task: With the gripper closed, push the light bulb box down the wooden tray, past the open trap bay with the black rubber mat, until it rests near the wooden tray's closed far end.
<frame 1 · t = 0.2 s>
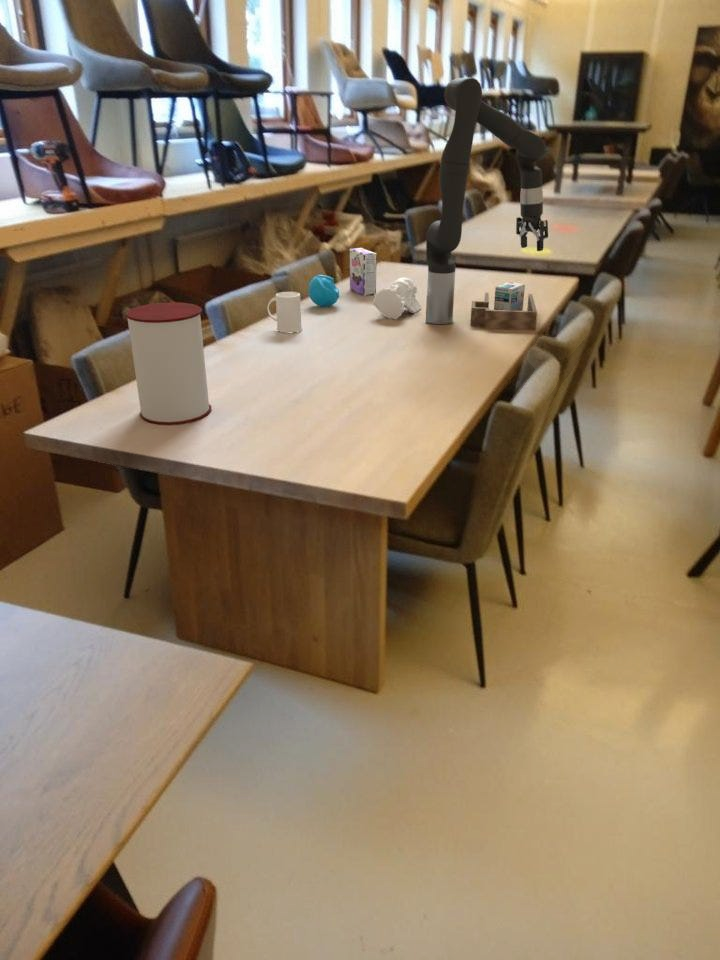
hand: (532, 249, 263), 22 cm above the table, tool pointing down, fingers open, 8 cm apart
sphere: (324, 307, 281), on the table
container: (176, 412, 184), on the table
cherub figurine: (396, 313, 272), on the table
mug: (285, 330, 252), on the table
wooden tray: (508, 320, 262), on the table
candy box: (362, 292, 303), on the table
light bulb box: (507, 315, 269), on the table
trap mat: (479, 321, 260), on the table
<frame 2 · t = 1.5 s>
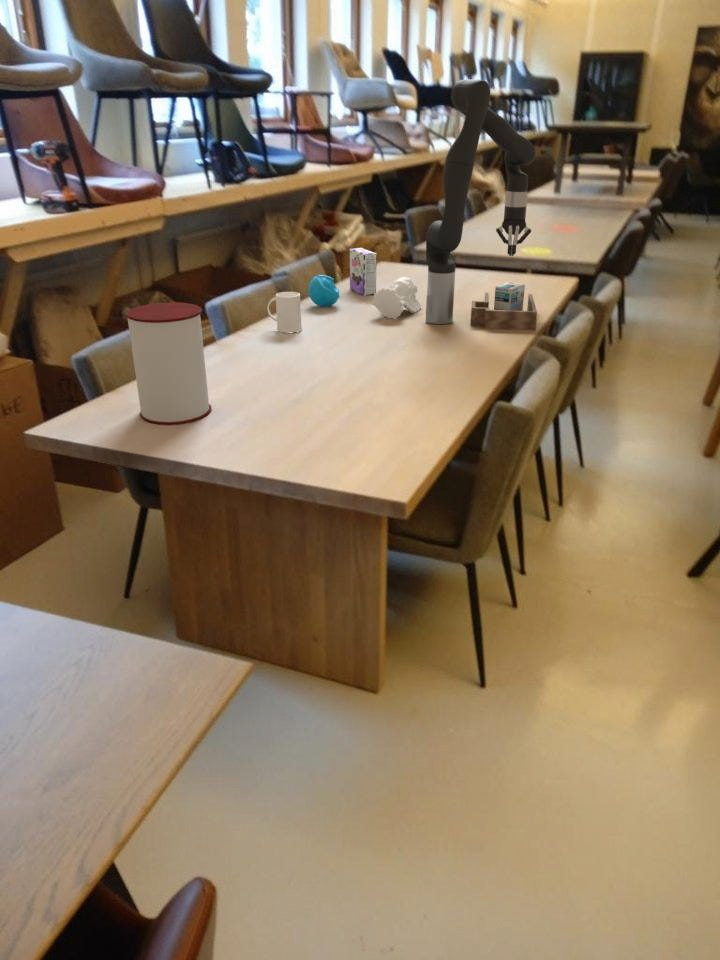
hand: (511, 255, 270), 19 cm above the table, tool pointing down, fingers closed
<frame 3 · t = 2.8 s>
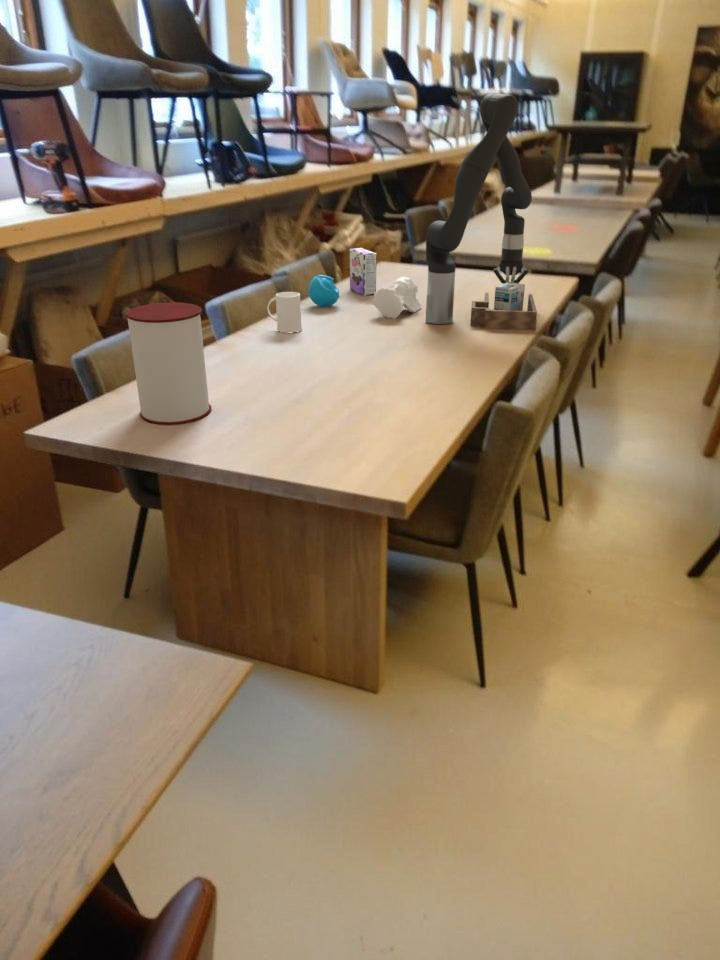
hand: (508, 294, 276), 5 cm above the table, tool pointing down, fingers closed
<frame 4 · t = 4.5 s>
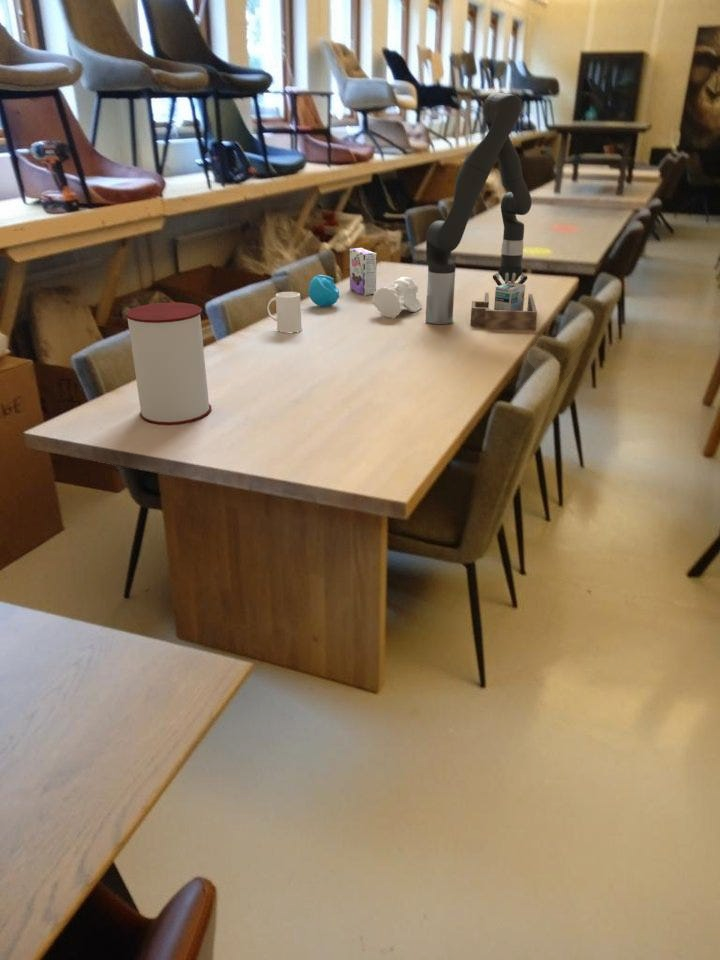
hand: (507, 301, 273), 3 cm above the table, tool pointing down, fingers closed
light bulb box: (508, 316, 268), on the table, touching gripper
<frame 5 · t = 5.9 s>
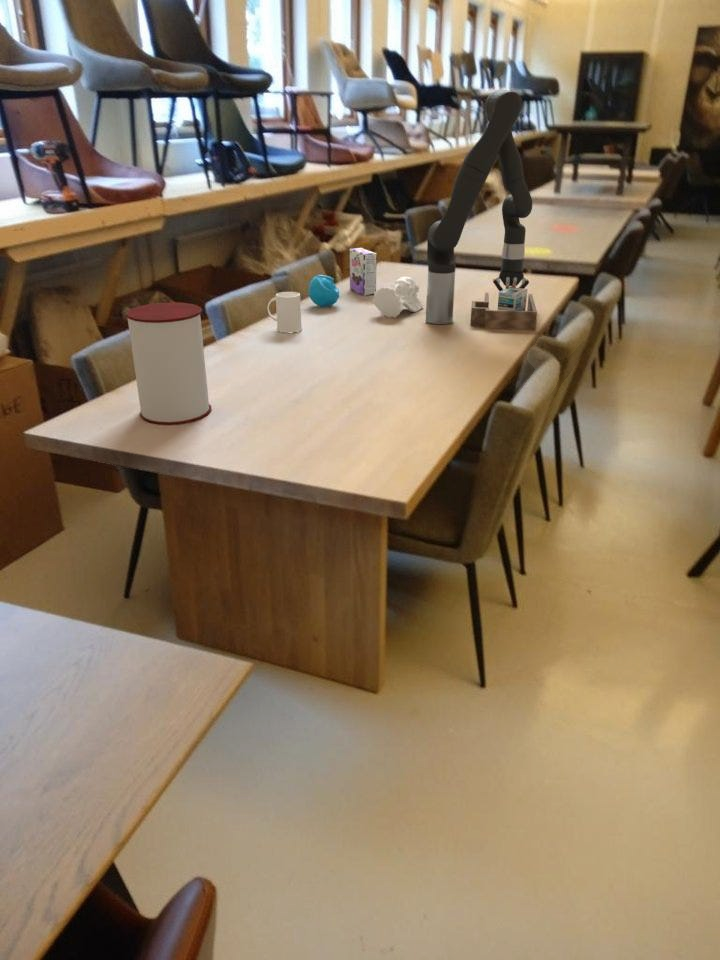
hand: (508, 306, 266), 4 cm above the table, tool pointing down, fingers closed
light bulb box: (510, 321, 261), on the table, touching gripper
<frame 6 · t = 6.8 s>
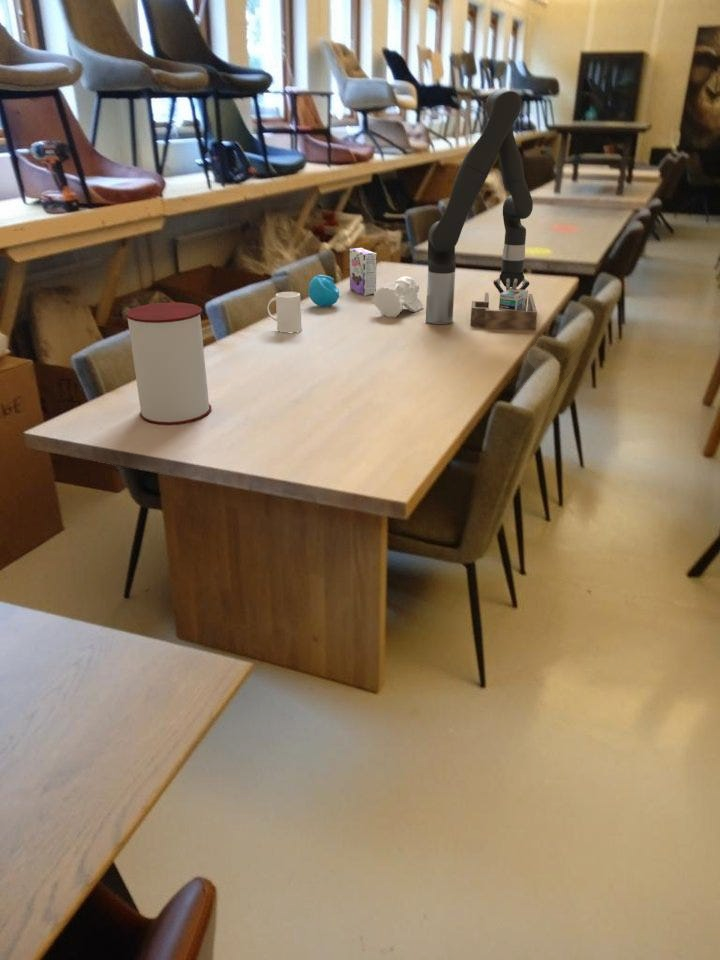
hand: (509, 307, 264), 4 cm above the table, tool pointing down, fingers closed
light bulb box: (511, 323, 259), on the table, touching gripper
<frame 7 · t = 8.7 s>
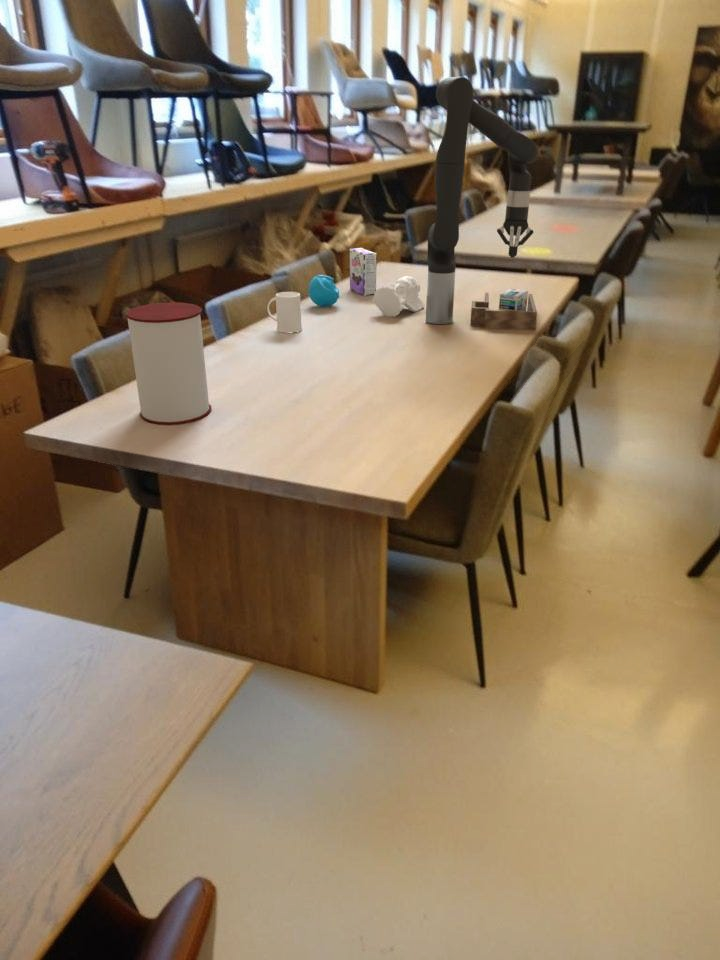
hand: (512, 257, 261), 20 cm above the table, tool pointing down, fingers closed
light bulb box: (511, 323, 259), on the table
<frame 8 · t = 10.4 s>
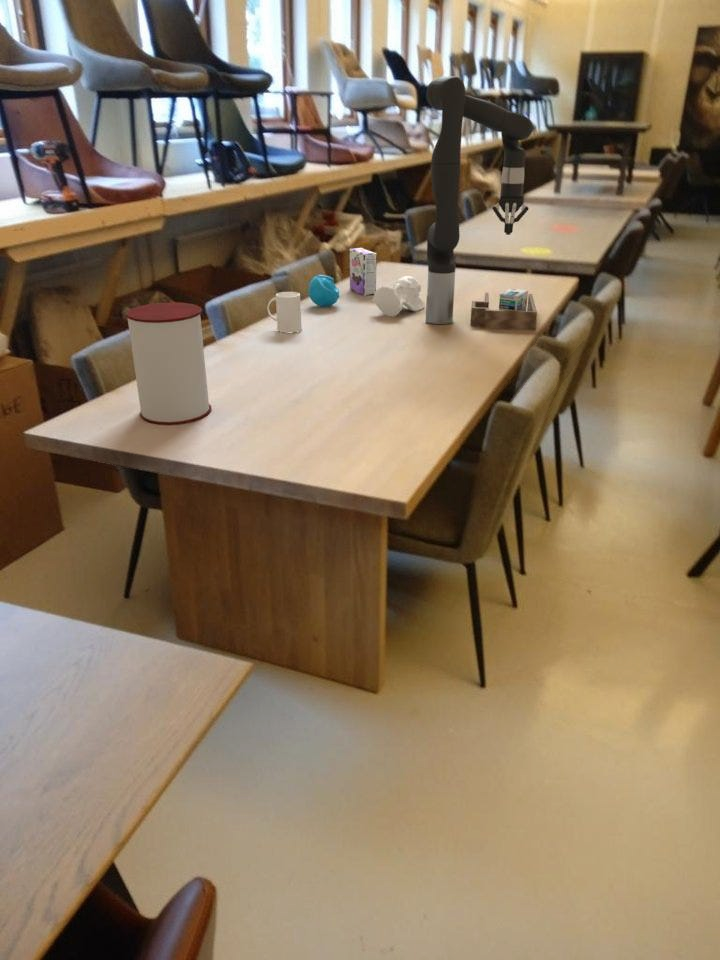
hand: (508, 234, 262), 27 cm above the table, tool pointing down, fingers closed
at the end: light bulb box inside the target area (1.3 cm from its centre), on the table; light bulb box tilted 0° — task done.
